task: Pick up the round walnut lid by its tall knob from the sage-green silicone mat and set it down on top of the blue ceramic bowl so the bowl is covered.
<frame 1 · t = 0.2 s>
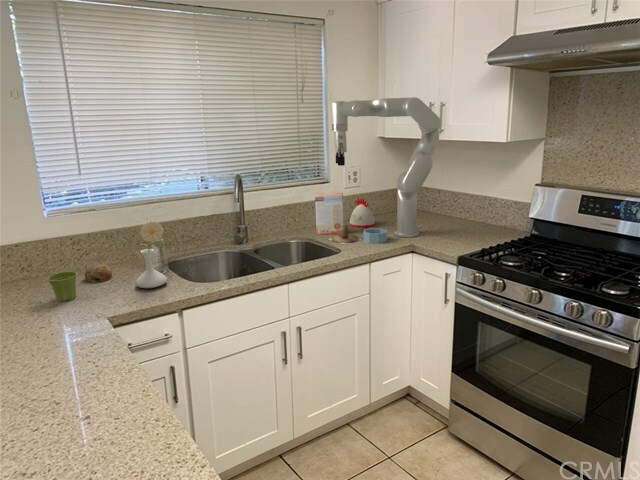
hand: (340, 164, 232), 36 cm above the worktop, tool pointing down, fingers open, 9 cm apart
flower in vase: (154, 286, 181), on the worktop
kitchen timer: (362, 225, 263), on the worktop
bread roll: (99, 279, 191), on the worktop
lid: (345, 239, 235), resting on mat
cracker box: (330, 234, 248), on the worktop
plant pot: (66, 299, 171), on the worktop
bowl: (375, 241, 232), on the worktop
mat: (345, 240, 235), on the worktop
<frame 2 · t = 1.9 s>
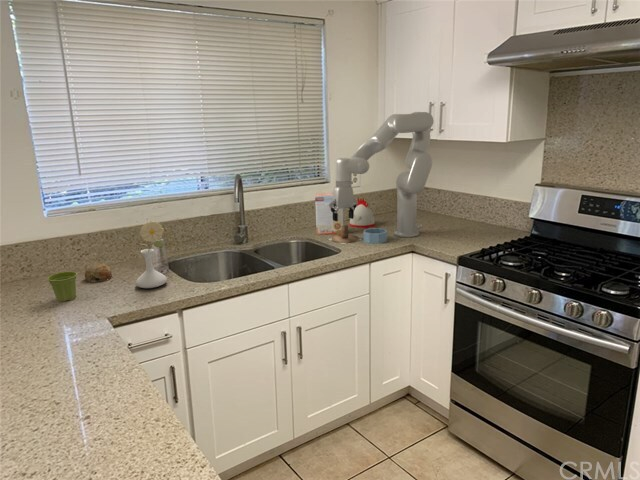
hand: (343, 219, 232), 10 cm above the worktop, tool pointing down, fingers open, 9 cm apart
nothing on the worktop moved.
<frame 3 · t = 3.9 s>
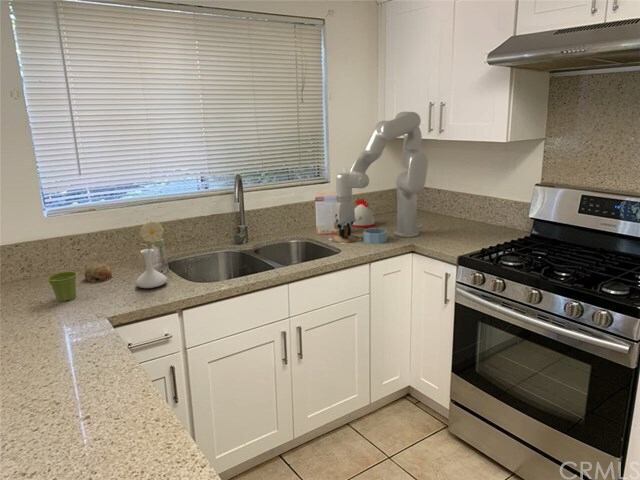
hand: (345, 235, 234), 2 cm above the worktop, tool pointing down, fingers closed on lid, 3 cm apart
lid: (345, 239, 235), resting on mat, touching gripper
everything else where it was.
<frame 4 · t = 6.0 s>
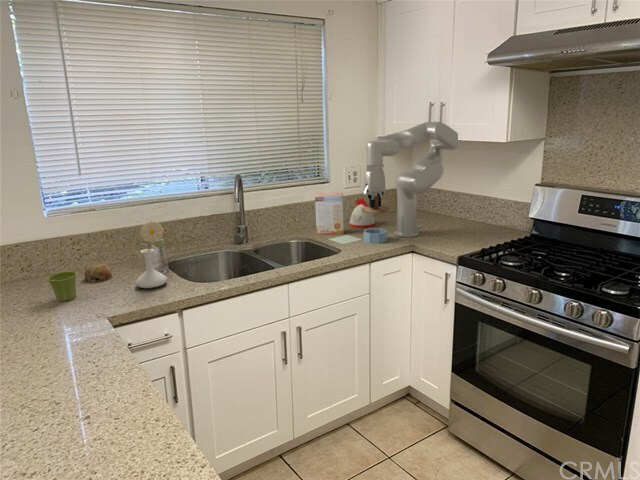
hand: (375, 206, 227), 17 cm above the worktop, tool pointing down, fingers closed on lid, 3 cm apart
lid: (375, 210, 228), point 15 cm above the worktop, touching gripper
everything else where it was.
when the fingers open (8 cm above the worktop, at t = 8.3 s): lid drops 2 cm, resting on bowl.
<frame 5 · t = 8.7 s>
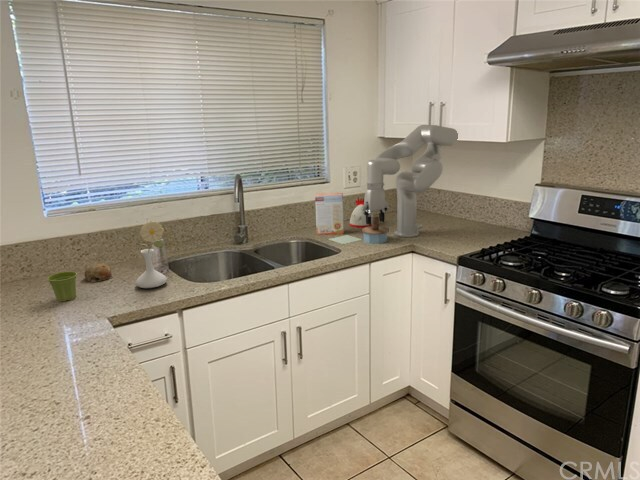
hand: (375, 222, 229), 9 cm above the worktop, tool pointing down, fingers open, 7 cm apart
lid: (375, 231, 230), point 5 cm above the worktop, touching bowl
everything else where it was.
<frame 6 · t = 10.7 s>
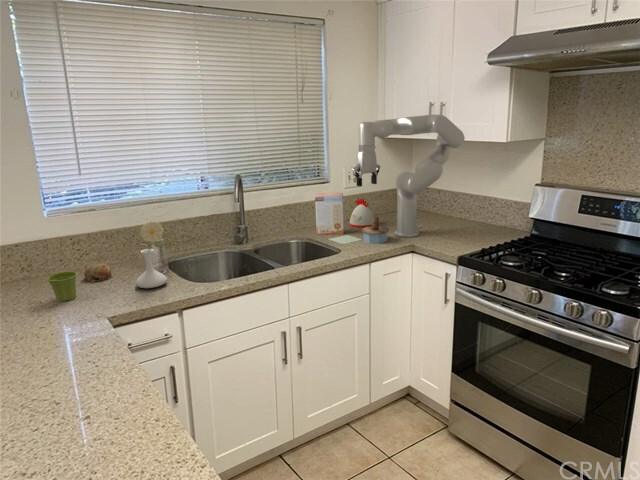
hand: (366, 185, 229), 27 cm above the worktop, tool pointing down, fingers open, 9 cm apart
nothing on the worktop moved.
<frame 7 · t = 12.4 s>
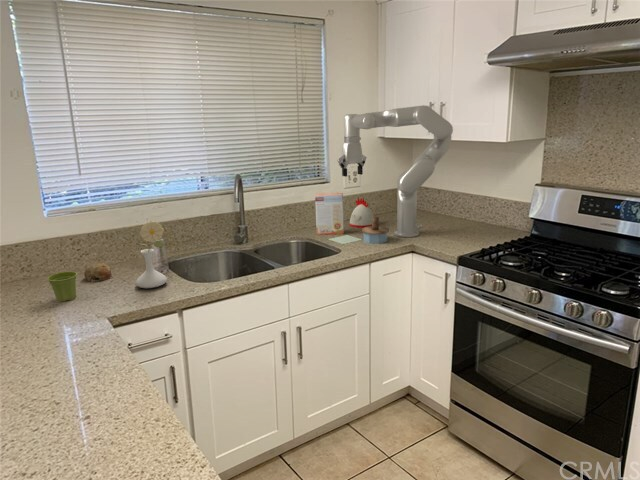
hand: (352, 175, 237), 30 cm above the worktop, tool pointing down, fingers open, 9 cm apart
nothing on the worktop moved.
at the end: lid 0.1 cm off-centre on the bowl, point 5.0 cm above the bowl's base; lid tilted 0°; the gripper is holding nothing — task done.
